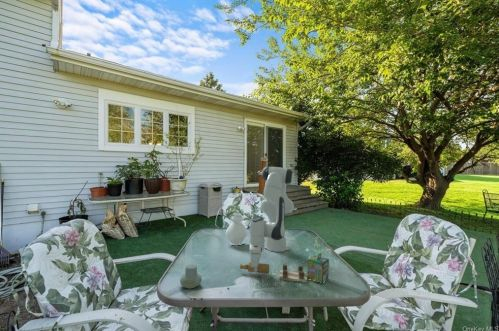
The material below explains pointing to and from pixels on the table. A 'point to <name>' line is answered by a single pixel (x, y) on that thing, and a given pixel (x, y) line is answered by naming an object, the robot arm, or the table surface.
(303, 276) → the bottle rest
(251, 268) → the amber bottle
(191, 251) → the table surface
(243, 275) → the table surface
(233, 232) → the decorative vase
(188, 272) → the air freshener
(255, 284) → the table surface
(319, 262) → the chalk box
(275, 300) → the table surface
